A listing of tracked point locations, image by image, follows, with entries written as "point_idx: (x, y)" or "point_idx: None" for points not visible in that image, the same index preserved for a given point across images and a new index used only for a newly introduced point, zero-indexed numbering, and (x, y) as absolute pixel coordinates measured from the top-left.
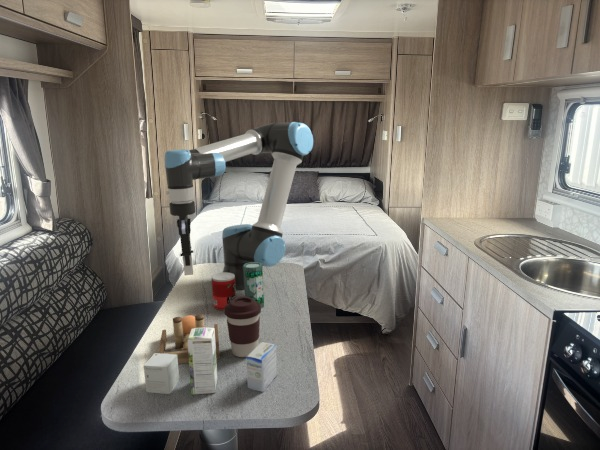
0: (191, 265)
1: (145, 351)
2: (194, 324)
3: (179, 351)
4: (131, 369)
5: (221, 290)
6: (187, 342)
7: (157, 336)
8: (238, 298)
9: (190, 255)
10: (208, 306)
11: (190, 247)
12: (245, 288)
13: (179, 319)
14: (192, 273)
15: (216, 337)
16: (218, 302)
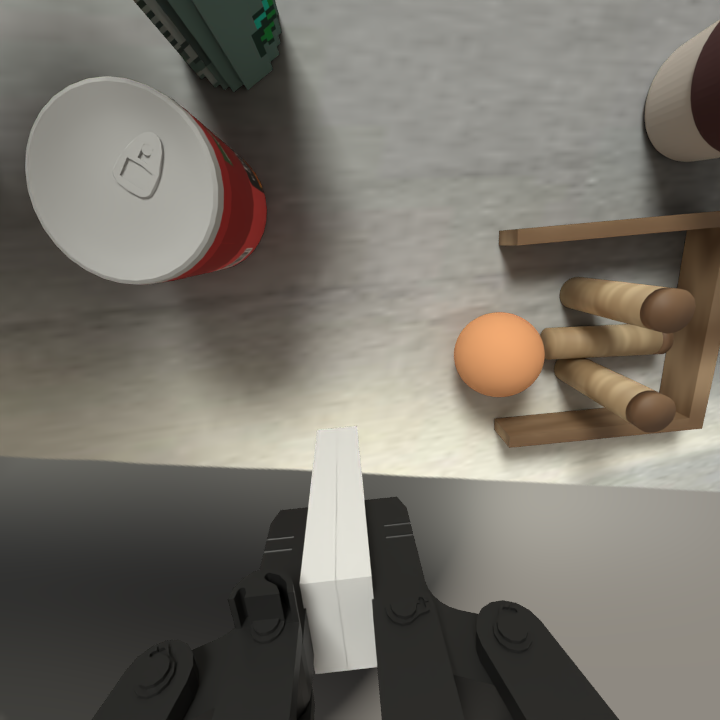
0: (362, 483)
1: (561, 466)
2: (536, 332)
3: (703, 362)
4: (655, 479)
5: (241, 211)
6: (623, 343)
7: (466, 451)
8: None
9: (371, 581)
10: (214, 294)
11: (275, 704)
12: (215, 19)
13: (669, 402)
14: (357, 435)
15: (649, 226)
16: (253, 239)
